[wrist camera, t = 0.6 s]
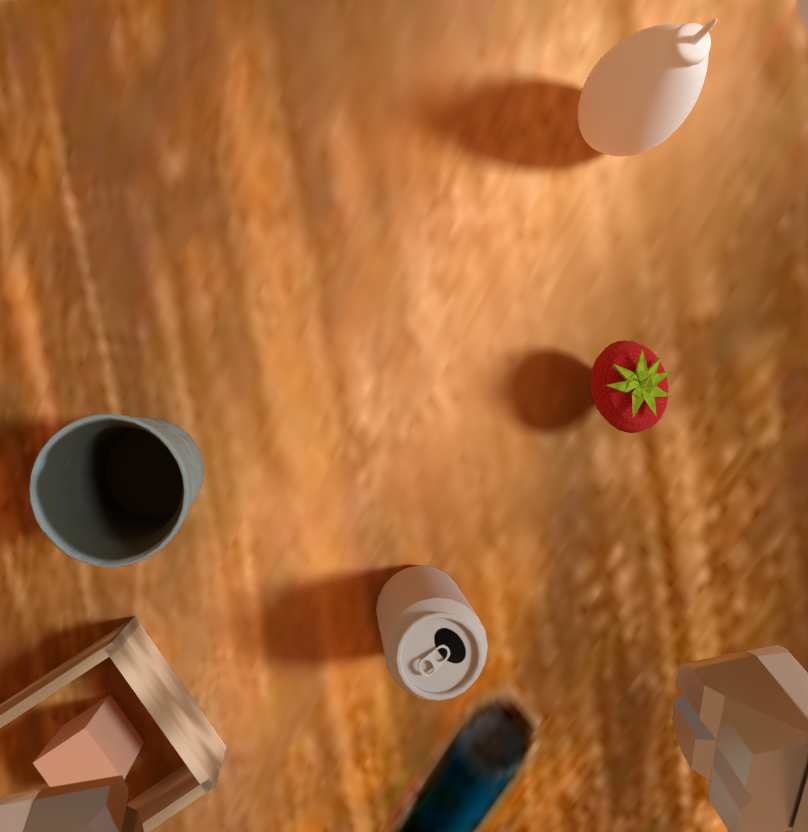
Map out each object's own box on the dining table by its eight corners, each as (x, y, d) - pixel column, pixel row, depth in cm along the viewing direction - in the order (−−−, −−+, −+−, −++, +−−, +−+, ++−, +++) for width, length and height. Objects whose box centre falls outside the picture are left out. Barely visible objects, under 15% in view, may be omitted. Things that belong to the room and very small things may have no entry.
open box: (226, 746, 59) (215, 786, 53) (93, 837, 59) (66, 887, 53) (134, 616, 58) (112, 641, 52) (-3, 706, 57) (-42, 742, 51)
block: (144, 741, 59) (123, 781, 53) (97, 772, 58) (71, 816, 52) (110, 693, 58) (85, 728, 52) (63, 724, 58) (32, 762, 52)
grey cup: (99, 402, 57) (38, 404, 46) (224, 418, 59) (197, 424, 47) (83, 524, 58) (19, 559, 46) (208, 538, 59) (177, 575, 47)
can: (478, 612, 61) (513, 665, 49) (409, 666, 61) (429, 732, 49) (427, 545, 61) (451, 583, 49) (357, 598, 60) (364, 650, 48)
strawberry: (581, 437, 62) (629, 445, 52) (561, 353, 61) (606, 346, 51) (644, 420, 62) (703, 425, 52) (624, 337, 62) (681, 326, 52)
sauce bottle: (651, 91, 61) (784, -33, 43) (639, 180, 62) (766, 94, 44) (566, 75, 61) (665, -58, 43) (553, 166, 61) (647, 71, 43)
